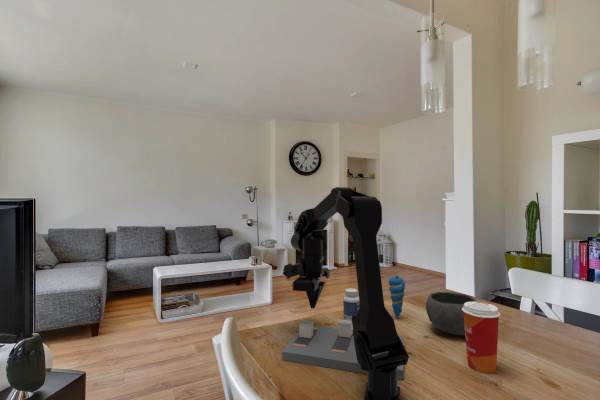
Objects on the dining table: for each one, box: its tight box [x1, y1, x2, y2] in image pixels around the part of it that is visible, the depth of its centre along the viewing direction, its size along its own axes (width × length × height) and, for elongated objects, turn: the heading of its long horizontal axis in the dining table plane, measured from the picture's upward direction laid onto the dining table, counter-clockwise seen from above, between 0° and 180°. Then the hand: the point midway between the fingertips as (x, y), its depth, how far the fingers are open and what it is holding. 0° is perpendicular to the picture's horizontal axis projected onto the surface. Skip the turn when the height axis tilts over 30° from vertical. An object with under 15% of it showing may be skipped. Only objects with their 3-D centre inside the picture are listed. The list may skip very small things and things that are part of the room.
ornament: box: [388, 273, 406, 319], centre depth 102 cm, size 5×5×15 cm
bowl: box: [425, 291, 479, 336], centre depth 91 cm, size 15×15×10 cm
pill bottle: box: [342, 288, 360, 321], centre depth 100 cm, size 5×5×10 cm
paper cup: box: [462, 301, 501, 374], centre depth 71 cm, size 8×8×14 cm
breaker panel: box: [281, 324, 405, 381], centre depth 79 cm, size 18×28×2 cm, turn 71°
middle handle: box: [337, 319, 353, 338], centre depth 83 cm, size 2×3×4 cm
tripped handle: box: [298, 319, 314, 338], centre depth 83 cm, size 2×3×4 cm
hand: (313, 308), depth 89 cm, fingers closed
